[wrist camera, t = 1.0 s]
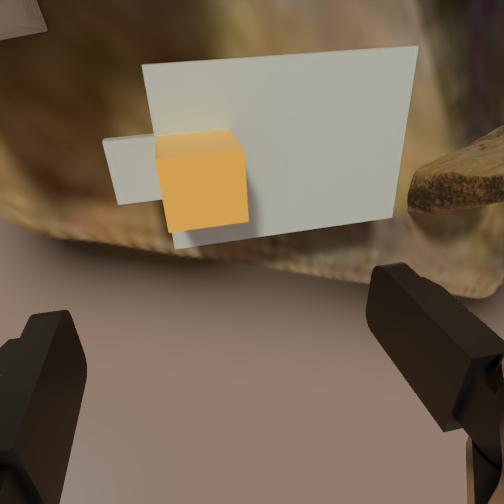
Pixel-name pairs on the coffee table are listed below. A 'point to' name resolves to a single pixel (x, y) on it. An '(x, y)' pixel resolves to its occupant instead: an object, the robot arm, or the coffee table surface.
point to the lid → (268, 142)
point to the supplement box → (20, 18)
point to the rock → (461, 178)
